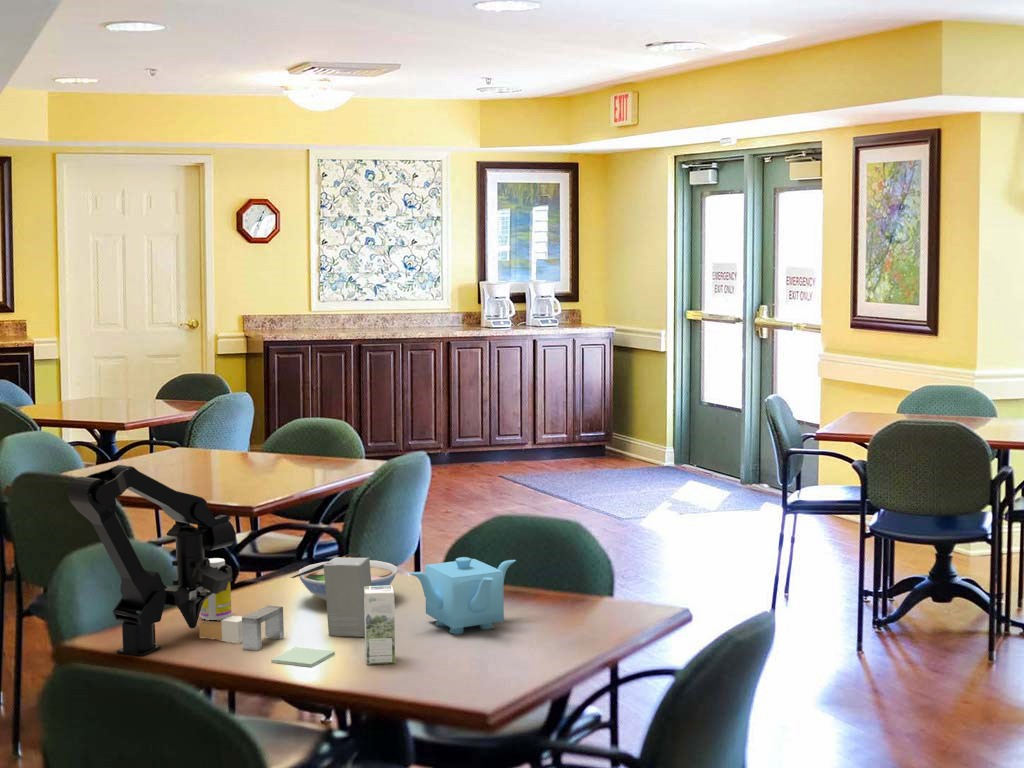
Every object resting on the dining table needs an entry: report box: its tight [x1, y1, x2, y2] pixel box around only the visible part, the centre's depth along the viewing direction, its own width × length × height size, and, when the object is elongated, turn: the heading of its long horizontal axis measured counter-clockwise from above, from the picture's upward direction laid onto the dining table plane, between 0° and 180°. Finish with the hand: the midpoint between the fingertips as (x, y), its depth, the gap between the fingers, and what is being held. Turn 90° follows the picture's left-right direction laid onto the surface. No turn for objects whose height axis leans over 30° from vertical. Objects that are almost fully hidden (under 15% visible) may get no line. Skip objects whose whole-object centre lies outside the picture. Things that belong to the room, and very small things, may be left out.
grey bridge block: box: [242, 604, 285, 651], centre depth 283 cm, size 10×4×6 cm, turn 158°
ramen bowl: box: [290, 552, 398, 601], centre depth 316 cm, size 25×23×8 cm
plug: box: [198, 615, 243, 644], centre depth 287 cm, size 4×10×4 cm, turn 68°
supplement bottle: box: [200, 557, 232, 621], centre depth 303 cm, size 7×7×13 cm
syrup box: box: [364, 584, 396, 665], centre depth 270 cm, size 6×6×14 cm
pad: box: [271, 646, 335, 668], centre depth 273 cm, size 9×9×1 cm
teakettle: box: [409, 556, 517, 635], centre depth 294 cm, size 19×19×15 cm
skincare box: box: [324, 556, 372, 638], centre depth 289 cm, size 8×7×16 cm
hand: (192, 627), depth 290 cm, fingers closed
